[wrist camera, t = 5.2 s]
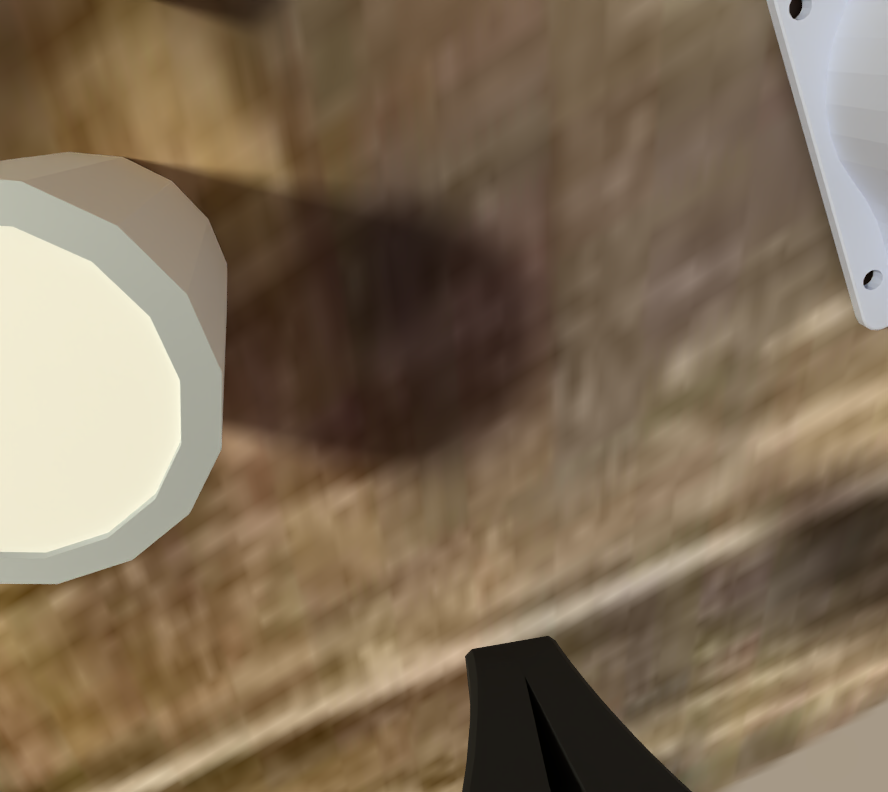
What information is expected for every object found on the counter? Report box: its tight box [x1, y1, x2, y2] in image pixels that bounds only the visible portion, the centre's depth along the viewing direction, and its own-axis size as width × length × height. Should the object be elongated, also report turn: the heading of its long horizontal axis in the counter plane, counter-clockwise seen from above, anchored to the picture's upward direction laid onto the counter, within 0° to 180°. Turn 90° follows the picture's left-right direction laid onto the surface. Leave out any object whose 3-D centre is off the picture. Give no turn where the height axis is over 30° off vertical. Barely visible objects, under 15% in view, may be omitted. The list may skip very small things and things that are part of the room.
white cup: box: [0, 152, 227, 584], centre depth 15 cm, size 7×7×7 cm
